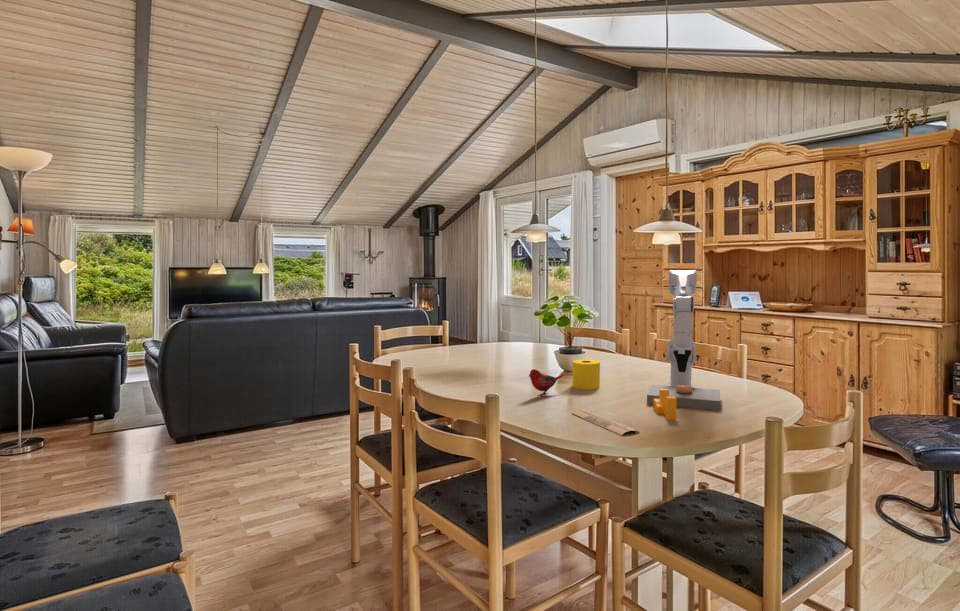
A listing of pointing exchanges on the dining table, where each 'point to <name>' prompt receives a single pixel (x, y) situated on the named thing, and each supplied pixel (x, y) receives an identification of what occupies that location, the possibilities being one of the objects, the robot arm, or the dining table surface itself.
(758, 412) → the dining table surface
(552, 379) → the decorative bird figurine
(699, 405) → the plate
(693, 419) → the dining table surface
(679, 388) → the knob
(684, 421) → the dining table surface
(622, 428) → the newspaper
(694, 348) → the robot arm
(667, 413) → the pipe clamp
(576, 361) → the yellow toilet paper roll
